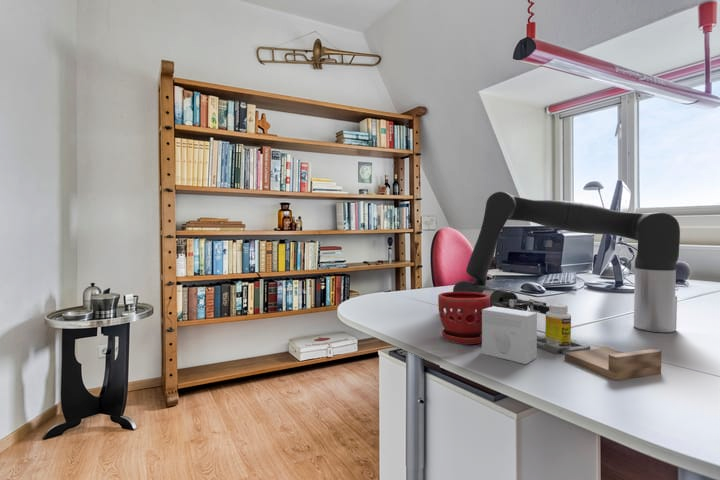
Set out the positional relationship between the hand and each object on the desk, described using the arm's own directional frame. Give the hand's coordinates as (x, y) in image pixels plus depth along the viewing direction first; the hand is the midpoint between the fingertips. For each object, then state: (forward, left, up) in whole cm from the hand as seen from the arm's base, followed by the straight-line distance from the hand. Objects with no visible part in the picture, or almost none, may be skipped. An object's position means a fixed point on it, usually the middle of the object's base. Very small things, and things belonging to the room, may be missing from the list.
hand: (538, 312), depth 99 cm
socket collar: (0, +7, -7) cm, 10 cm away
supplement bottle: (0, +7, -7) cm, 10 cm away
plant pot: (+19, -5, -7) cm, 21 cm away
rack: (0, +21, -7) cm, 22 cm away
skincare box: (+16, +9, -7) cm, 20 cm away
